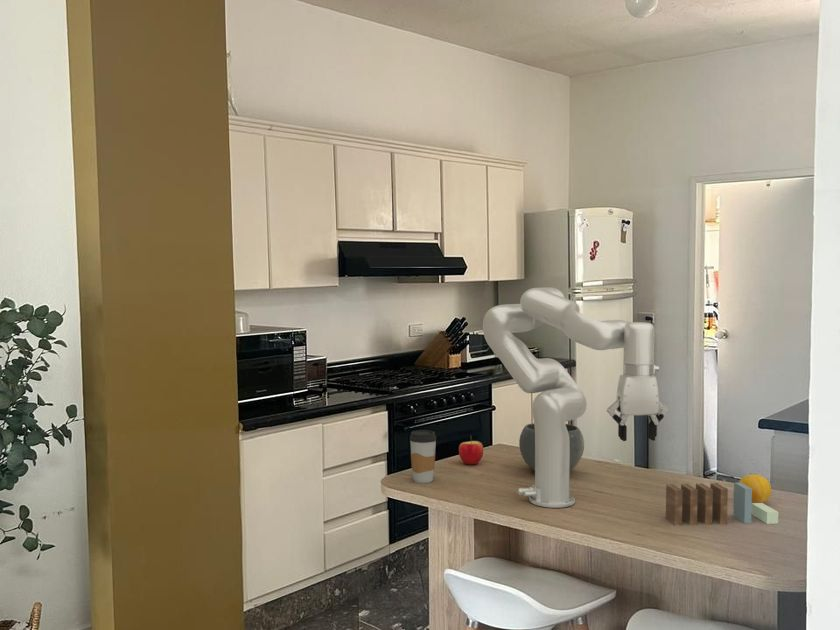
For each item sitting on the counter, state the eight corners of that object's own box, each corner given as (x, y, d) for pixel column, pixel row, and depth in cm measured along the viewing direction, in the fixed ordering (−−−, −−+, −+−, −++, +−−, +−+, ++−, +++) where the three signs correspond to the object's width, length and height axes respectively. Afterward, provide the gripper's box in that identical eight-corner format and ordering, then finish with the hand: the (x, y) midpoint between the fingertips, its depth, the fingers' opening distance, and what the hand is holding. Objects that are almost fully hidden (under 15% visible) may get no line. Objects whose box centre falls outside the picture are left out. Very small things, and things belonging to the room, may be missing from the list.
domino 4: (720, 524, 205) (721, 489, 204) (709, 516, 211) (710, 483, 210) (727, 523, 205) (727, 489, 204) (716, 516, 211) (717, 483, 210)
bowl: (589, 481, 247) (590, 433, 246) (523, 480, 247) (523, 432, 246) (577, 465, 267) (578, 420, 266) (516, 465, 267) (516, 420, 266)
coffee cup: (441, 479, 249) (441, 431, 248) (427, 485, 242) (427, 436, 241) (418, 475, 253) (418, 428, 252) (404, 481, 246) (404, 433, 245)
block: (766, 523, 205) (767, 512, 205) (751, 514, 213) (751, 503, 213) (778, 523, 205) (778, 512, 205) (762, 514, 213) (762, 503, 213)
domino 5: (744, 523, 205) (745, 488, 205) (733, 516, 211) (734, 482, 211) (751, 523, 205) (751, 488, 205) (739, 516, 211) (740, 482, 211)
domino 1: (674, 525, 204) (675, 490, 203) (665, 518, 210) (666, 484, 209) (681, 525, 204) (682, 490, 203) (672, 517, 210) (672, 484, 209)
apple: (457, 466, 265) (457, 436, 265) (460, 460, 274) (460, 431, 273) (482, 467, 264) (482, 437, 263) (484, 461, 272) (484, 432, 272)
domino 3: (705, 524, 204) (705, 489, 204) (695, 517, 210) (695, 483, 210) (712, 524, 205) (712, 489, 204) (701, 517, 211) (702, 483, 210)
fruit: (731, 500, 226) (731, 472, 225) (752, 497, 229) (753, 469, 228) (755, 509, 218) (756, 480, 217) (777, 505, 221) (778, 477, 220)
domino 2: (690, 524, 204) (690, 490, 204) (680, 517, 210) (681, 483, 210) (696, 524, 204) (697, 490, 204) (687, 517, 210) (687, 483, 210)
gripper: (665, 368, 208) (664, 436, 209) (600, 369, 207) (599, 437, 208) (677, 372, 201) (676, 442, 202) (610, 372, 199) (609, 443, 200)
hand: (637, 439), depth 205 cm, fingers open, 6 cm apart
